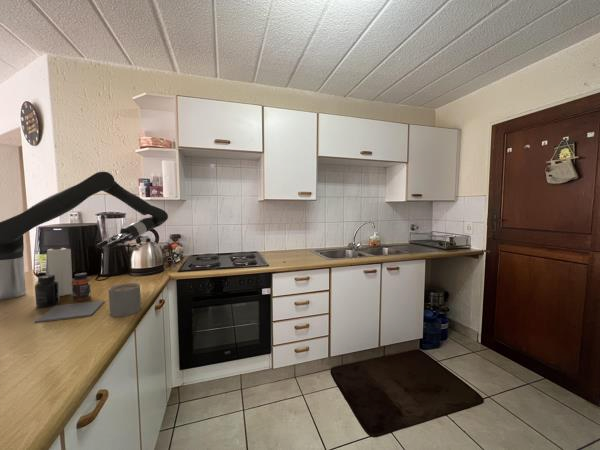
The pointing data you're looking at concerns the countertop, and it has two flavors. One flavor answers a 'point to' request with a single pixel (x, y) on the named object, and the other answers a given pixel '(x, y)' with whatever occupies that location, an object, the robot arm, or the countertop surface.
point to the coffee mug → (124, 299)
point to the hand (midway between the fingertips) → (103, 246)
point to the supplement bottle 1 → (47, 291)
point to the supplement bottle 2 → (81, 287)
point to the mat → (70, 311)
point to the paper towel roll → (61, 268)
